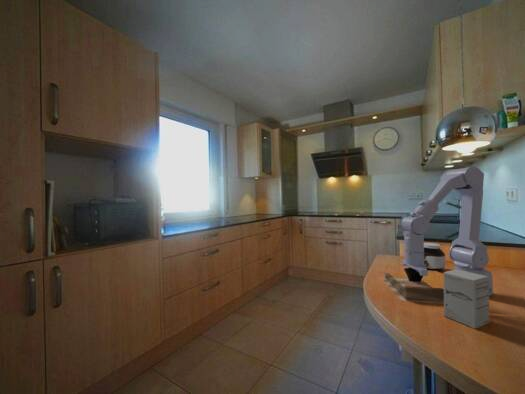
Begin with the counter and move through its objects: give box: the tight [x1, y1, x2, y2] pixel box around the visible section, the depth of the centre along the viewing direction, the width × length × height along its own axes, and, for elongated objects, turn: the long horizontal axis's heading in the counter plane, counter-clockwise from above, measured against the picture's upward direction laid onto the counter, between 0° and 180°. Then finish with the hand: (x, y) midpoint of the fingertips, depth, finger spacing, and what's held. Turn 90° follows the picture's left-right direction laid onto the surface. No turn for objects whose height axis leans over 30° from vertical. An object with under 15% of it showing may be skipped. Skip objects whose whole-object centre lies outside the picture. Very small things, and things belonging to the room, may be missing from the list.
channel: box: [381, 272, 444, 305], centre depth 83 cm, size 22×14×5 cm, turn 168°
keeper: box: [405, 281, 433, 288], centre depth 77 cm, size 5×6×4 cm
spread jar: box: [424, 242, 447, 272], centre depth 108 cm, size 12×11×12 cm
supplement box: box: [443, 268, 490, 330], centre depth 63 cm, size 7×7×13 cm
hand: (414, 289), depth 80 cm, fingers closed
